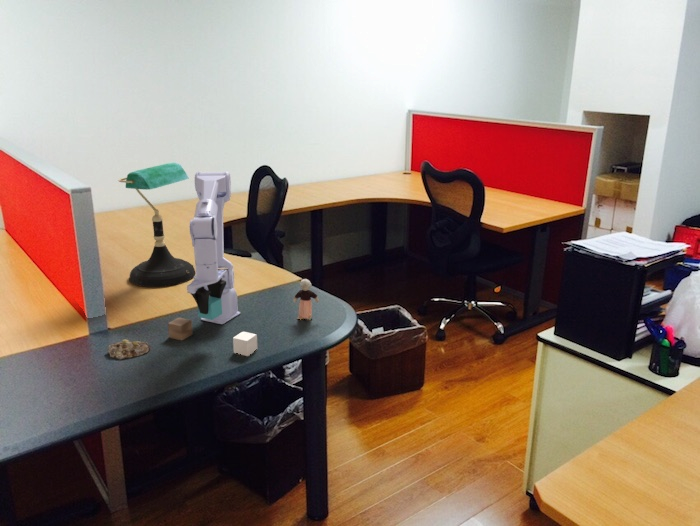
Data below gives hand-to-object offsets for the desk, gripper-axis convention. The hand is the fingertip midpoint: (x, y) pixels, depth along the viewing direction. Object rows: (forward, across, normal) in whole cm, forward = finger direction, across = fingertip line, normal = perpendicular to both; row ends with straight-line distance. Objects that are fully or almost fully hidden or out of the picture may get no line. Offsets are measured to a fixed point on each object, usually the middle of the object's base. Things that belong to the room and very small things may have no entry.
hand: (209, 309), depth 158 cm
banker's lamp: (+10, -38, -50) cm, 64 cm away
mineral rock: (+10, +14, -17) cm, 24 cm away
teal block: (+2, 0, 0) cm, 2 cm away
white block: (+10, 0, +11) cm, 15 cm away
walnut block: (+10, 0, -11) cm, 15 cm away
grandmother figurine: (+10, -26, +15) cm, 32 cm away
